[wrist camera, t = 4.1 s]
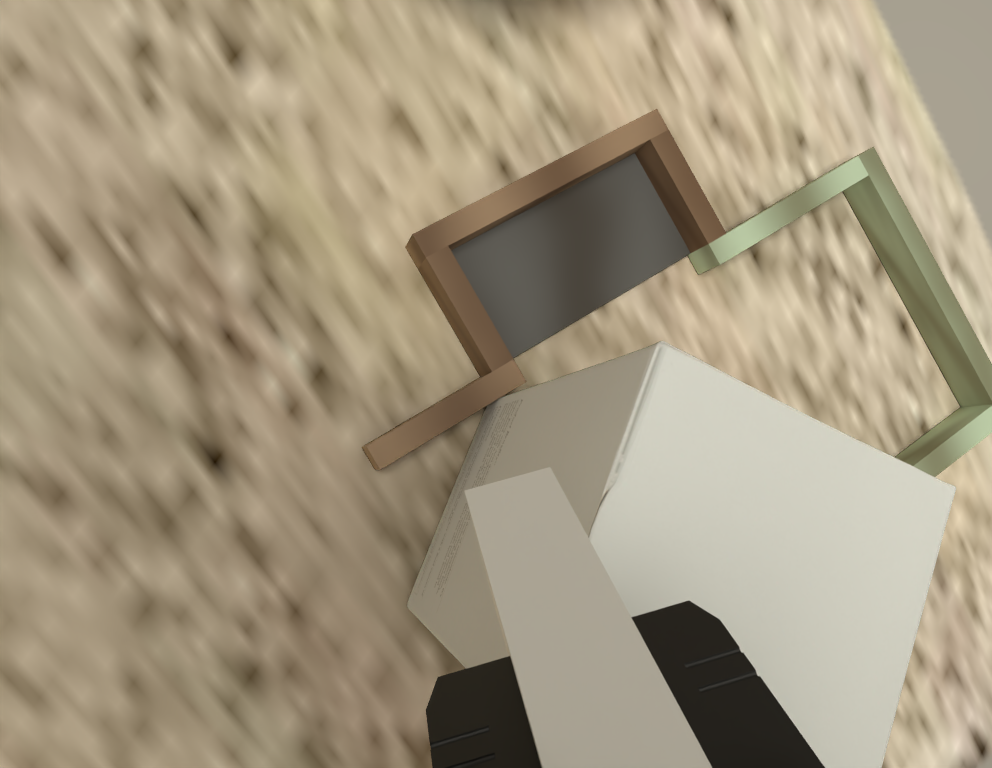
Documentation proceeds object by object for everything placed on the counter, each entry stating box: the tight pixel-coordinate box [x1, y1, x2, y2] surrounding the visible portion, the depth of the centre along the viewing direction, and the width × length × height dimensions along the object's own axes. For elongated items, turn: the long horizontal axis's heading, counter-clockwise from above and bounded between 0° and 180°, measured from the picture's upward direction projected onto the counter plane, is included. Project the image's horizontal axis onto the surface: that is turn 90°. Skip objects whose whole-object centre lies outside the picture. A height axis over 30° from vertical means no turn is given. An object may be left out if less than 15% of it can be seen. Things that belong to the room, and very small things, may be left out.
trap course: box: [362, 109, 992, 477], centre depth 33 cm, size 26×26×2 cm
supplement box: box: [407, 341, 956, 768], centre depth 24 cm, size 9×9×15 cm
